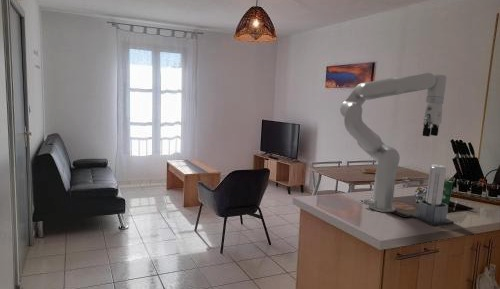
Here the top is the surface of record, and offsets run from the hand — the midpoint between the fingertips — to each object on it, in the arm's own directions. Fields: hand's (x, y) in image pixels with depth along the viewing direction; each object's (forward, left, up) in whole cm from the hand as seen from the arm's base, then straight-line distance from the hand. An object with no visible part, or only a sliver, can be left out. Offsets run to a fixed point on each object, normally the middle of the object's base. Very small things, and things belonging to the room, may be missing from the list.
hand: (430, 135), depth 176 cm
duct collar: (-1, -13, -38) cm, 40 cm away
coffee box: (+21, +16, -38) cm, 47 cm away
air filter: (-1, -13, -38) cm, 40 cm away
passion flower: (+11, +15, -39) cm, 43 cm away
